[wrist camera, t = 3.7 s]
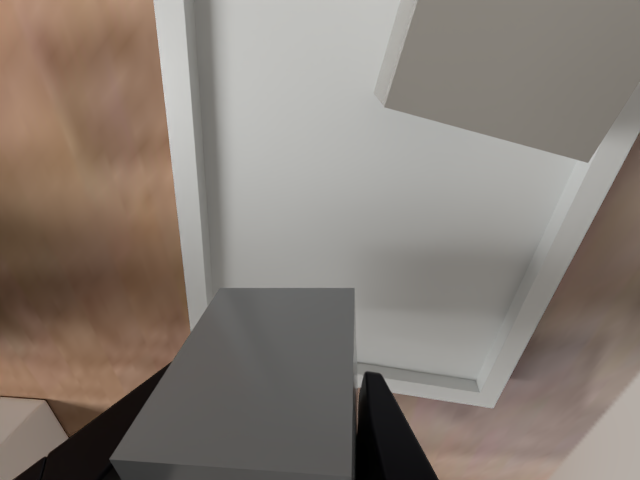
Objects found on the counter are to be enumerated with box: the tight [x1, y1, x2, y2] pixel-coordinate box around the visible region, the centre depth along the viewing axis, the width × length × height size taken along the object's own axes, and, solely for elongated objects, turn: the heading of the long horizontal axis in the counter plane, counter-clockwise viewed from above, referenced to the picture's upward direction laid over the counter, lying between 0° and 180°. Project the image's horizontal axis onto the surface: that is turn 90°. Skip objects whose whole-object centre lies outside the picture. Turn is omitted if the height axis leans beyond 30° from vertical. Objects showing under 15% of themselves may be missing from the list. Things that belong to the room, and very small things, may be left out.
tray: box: [154, 0, 640, 408], centre depth 11 cm, size 17×13×2 cm
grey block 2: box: [374, 0, 640, 163], centre depth 7 cm, size 4×4×4 cm
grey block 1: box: [109, 288, 358, 480], centre depth 7 cm, size 4×4×4 cm
